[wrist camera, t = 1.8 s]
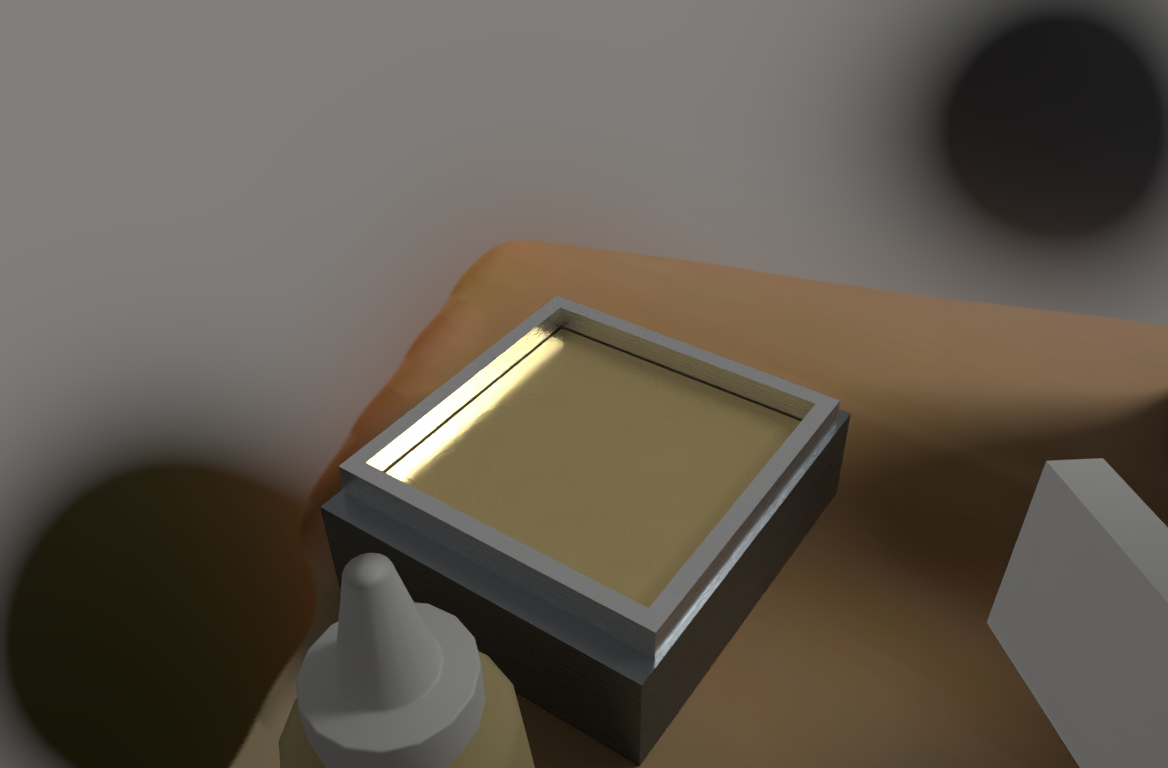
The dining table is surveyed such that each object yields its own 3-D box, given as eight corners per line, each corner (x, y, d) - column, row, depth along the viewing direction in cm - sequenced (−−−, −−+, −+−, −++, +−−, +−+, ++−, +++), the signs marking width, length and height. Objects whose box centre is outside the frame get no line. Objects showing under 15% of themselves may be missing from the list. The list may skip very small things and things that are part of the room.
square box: (570, 382, 59) (567, 283, 55) (836, 492, 52) (855, 388, 48) (339, 586, 48) (314, 480, 44) (639, 765, 40) (642, 658, 36)
